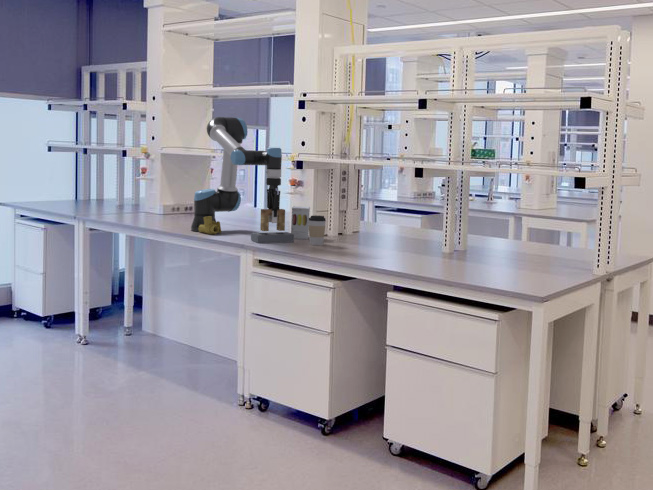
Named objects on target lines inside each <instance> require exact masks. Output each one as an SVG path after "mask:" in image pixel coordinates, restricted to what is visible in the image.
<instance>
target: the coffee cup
mask: <svg viewBox="0 0 653 490" xmlns="http://www.w3.org/2000/svg"><path fill="white" fill-rule="evenodd" d="M326 221H327V220H326V218H325V215H310V216H309V245H310V246H323V245H324V238H325V232H326Z"/></svg>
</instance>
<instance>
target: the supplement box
mask: <svg viewBox="0 0 653 490" xmlns="http://www.w3.org/2000/svg"><path fill="white" fill-rule="evenodd" d="M310 209H311V207H310V206H292V207H291V219H290V220H291V222H290V233H291V234H294V240H295V239H297V240H298V239H299V240H301V239H302V240H308V239H309V238H310V236H309V218H310V212H311V211H310Z"/></svg>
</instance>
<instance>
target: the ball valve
mask: <svg viewBox="0 0 653 490" xmlns="http://www.w3.org/2000/svg"><path fill="white" fill-rule="evenodd" d="M198 230H199V231H200V232H199V233H203V234H204V233H205V234H206V235H207V234H208V235H216V234H217V233H218V234H221V233H222V228H221V222H220V221H219V220H218V221H217V220H216V222H215V221H212V216H208V217H204V225H200V226H199V228H198Z"/></svg>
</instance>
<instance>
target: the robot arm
mask: <svg viewBox="0 0 653 490" xmlns="http://www.w3.org/2000/svg"><path fill="white" fill-rule="evenodd" d="M248 131H249V130H248V126H247V123H246V121H245V120H244V119H243V118H239V117H230V116H229V117H226V116H217V117H214V118H211V119H210V120H209V122H208V123H207V126H206V133H207V135H208V137H209V138H210V139H211V140H212V141H214V142H217V144H219V146H221V147H222V148H223V151H222V152H223V153H222V163H221V164H222V165H221V177H220V185H218V187H217V190H216V189H214V188H207V189H205V188H204V189H199V190H196V191H195V192H194V197H193V201H194V205H193V211H194V212H193V213H194V215H193V216H194V217H193V220H192V223H191V226H190V231H193V232H199V233H201V232H200V231H199V230H198V228H199V226H200V225H204V217H208V216H212V221H215V222H217V220H216V212H217V213H218V212H220V213H221V212H226V213H227V212H228V213H229V212H235V211H237V210H238V209H239V208H240V206H241V204H242V203H241V201H242V198H241V192H239V191H238V190H239V189H238V188H237V186H236V184H237V173H238V166H266V170H265V173H266V186H269V187H268V188H267V189H266V209H272V216H269V223H271V224H277V211H278V210H279V209H280V201H281V200H280V199H281V190H279V186H281V185H282V179H281V178H282V158H283V154H282V148H280V147H267V148H266V150H247V149H246V148H244V147H243V145H241V144H243V140H245V139H246V138H247V137H248Z"/></svg>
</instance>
